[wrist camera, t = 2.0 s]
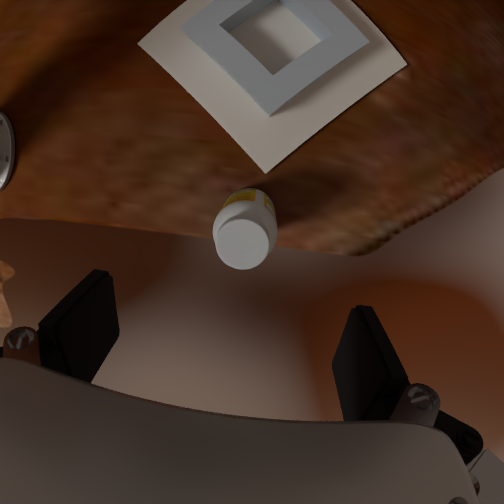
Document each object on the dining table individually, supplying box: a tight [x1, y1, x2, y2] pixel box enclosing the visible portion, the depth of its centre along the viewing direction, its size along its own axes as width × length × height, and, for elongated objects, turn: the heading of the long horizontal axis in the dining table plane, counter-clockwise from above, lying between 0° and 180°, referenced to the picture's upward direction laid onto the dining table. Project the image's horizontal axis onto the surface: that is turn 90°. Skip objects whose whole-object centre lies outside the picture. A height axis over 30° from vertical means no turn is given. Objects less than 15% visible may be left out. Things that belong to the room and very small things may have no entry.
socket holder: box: [137, 0, 407, 174], centre depth 21 cm, size 20×20×4 cm
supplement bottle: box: [213, 188, 277, 269], centre depth 26 cm, size 5×5×10 cm
